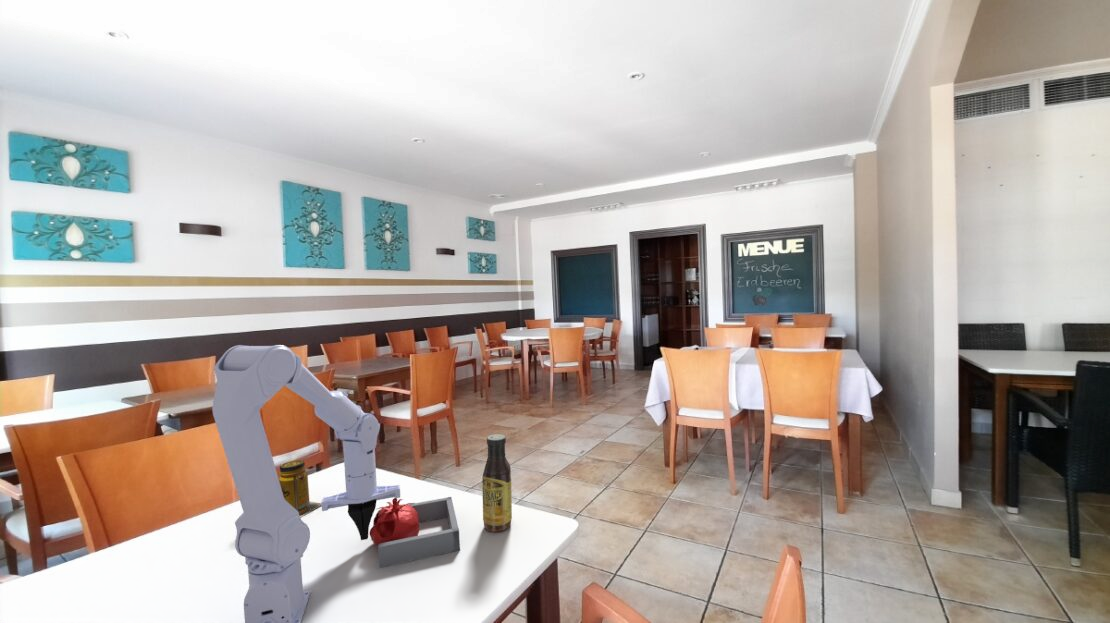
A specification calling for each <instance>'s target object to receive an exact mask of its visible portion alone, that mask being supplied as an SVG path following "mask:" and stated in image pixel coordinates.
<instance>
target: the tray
mask: <svg viewBox="0 0 1110 623" xmlns="http://www.w3.org/2000/svg"><path fill="white" fill-rule="evenodd" d="M413 503H414V504H408V505H410V506H412V507H413V508H414V509H415V510H416V511H417V514H418V520H419V523H423V522H429V521H434V520H439V519H443V518H444V519H445V518H447V522H448V528H449V529H444V530H441V531H440V530H439V531H435V532H429V533H425V534H424V533H423V534H420V535H419V534H418V536H414V537H409V538H405V539H400V540H395V541H390V542H385V543H380V544H378V547H377V548H378V549H377V550H378V551H377V552H378V564H379V565H378V567H379V569H380V568H384V567H389V566H394V565H398V564H403V563H407V562H413V561H417V560H421V559H425V558H430V557H435V556H438V555H444V554H449V553H452V552H457V551H460V550H461V543H460V542H461V541H460V530H459V524H458V520H457V515H456V510H455V508H454V503H453V499H452V496H448V497H442V498H436V499H432V500H431V499H430V500H427V501H426V500H425V501H420V502H413Z"/></svg>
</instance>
